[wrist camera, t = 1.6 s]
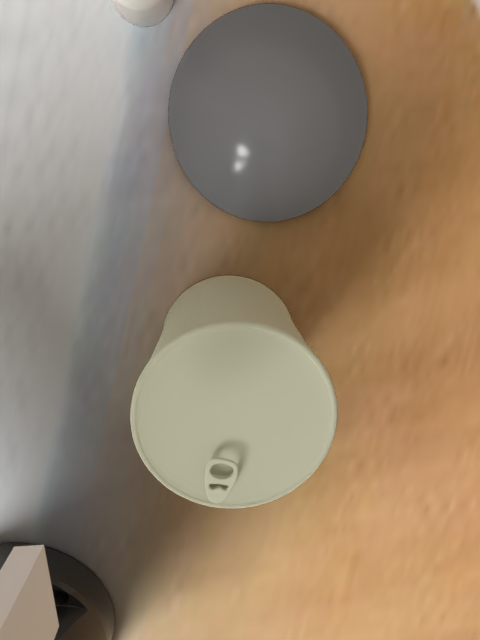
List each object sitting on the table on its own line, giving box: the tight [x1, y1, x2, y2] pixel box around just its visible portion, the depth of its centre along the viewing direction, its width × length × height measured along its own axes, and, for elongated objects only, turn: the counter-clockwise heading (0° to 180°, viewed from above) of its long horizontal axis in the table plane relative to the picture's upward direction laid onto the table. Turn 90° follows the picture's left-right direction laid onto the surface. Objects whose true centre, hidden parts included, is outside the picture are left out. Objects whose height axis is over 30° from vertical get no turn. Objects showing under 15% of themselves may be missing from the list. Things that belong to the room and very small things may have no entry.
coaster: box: [168, 4, 368, 222], centre depth 26 cm, size 12×12×1 cm
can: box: [130, 275, 337, 509], centre depth 24 cm, size 9×9×12 cm
